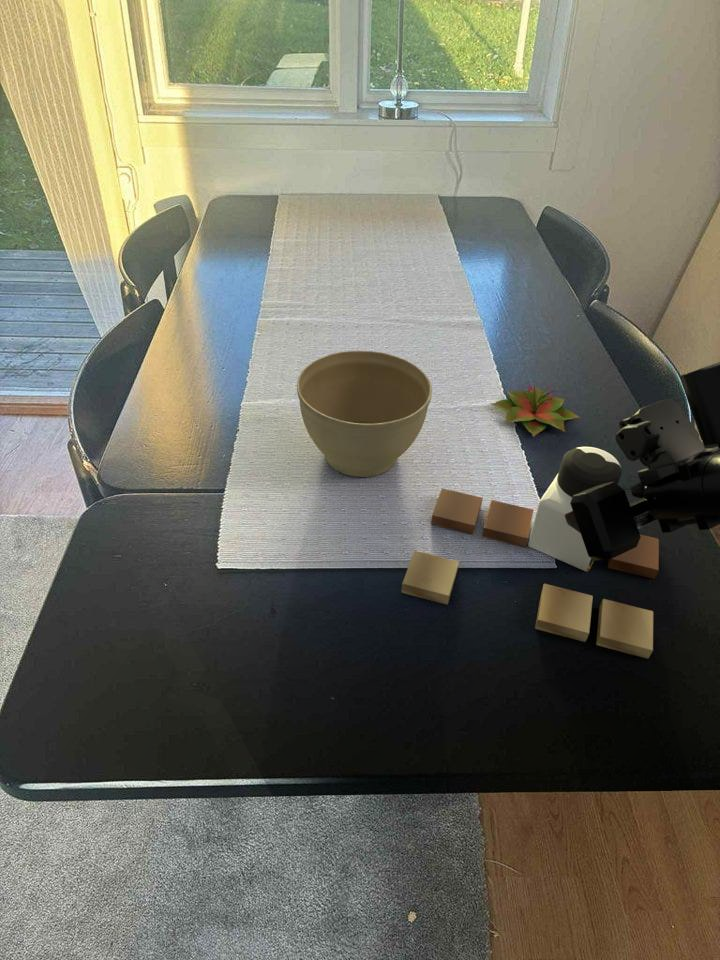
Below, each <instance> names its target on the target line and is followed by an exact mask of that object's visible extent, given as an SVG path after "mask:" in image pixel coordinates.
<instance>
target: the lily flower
mask: <svg viewBox="0 0 720 960" xmlns="http://www.w3.org/2000/svg"><path fill="white" fill-rule="evenodd" d="M539 381H540V382H541V379H540V380H539ZM531 384H532V387H531V386H530V385H528V386H527V388H526V389H527V390H526V391H524V390H514V391H511V390H506V392H507V394H508V396H509V398H510V399H508V398H506V399H501V400H497V401H495V402H491V403H489V404H490V405H491V406H494V407H497V408H498V409H500V410H502V411H504V412H507V413H506V416H505V420H504V422H503V424H508V423H513V422H516V423H517V422H521V423H522V425H523V426H524V427H525V429H526V430H527V431H528V432H529V433H531V435H532V437H533V438H534V437H535V436H536V435H538V434H539V433H540V432H542V431H543V430H545V429H546V428H547V427H548V425H550V426H552V427H554V428H556V429H558V430H560V431H561V432H565V433H566V429H565V425H564V424H565V421H567V420H573V419H576V418H577V419H578V418H579V419H580V418H581V416H579V415H578V414H576V413H574V412H573V411H572V410H570V409H569V408H566V407H562V406H563V404H564V401H565V398H560V397H558V396H557V397H556V396H554V395H553V394H551V393H554V392H557V391H558V390H557V389H553V390H551V391H548V392H546V390H547V389H548V388H550V387H551V386H552V385H553V383H550V384H549V385H548V386H547V387H546V389H545V390H544V391H543V390H541V389H540V386H539V388H538V387H537V386H535V383H534V382H533V381H532V382H531Z"/></svg>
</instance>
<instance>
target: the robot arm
mask: <svg viewBox="0 0 720 960" xmlns="http://www.w3.org/2000/svg"><path fill="white" fill-rule="evenodd" d="M678 377H679V379H680V382H681V385H682V388H683V392H684V395H685V397H686V400H687V402H688V405H689V408H690V412H691V414H692V417H693V420H694V423H695V426H696V427H695V426H694V424H693V423H692V421H691V420H690V419H689V417H688V415H686V413H685V411H684V410H683V409H682V407H681V405H680V404H678V402H677V401H675V400H673V399H671V398H665V399H662V400H660V401H655V402H654V403H651V404H648V405H645V406H642V407H640V409H638V410H637V411H636V413H634V414H633V415H631V416H630V417H627V418H625V419H622V420H620V421H619V422H618V426H619V431H617V432H616V433H615V443H616V444H617V445H618V447H619V448H620V450H621V451H622V453H623V455H624V456H625V458H626V459H627V460H628V461H630V462H636V461H638V460H639V462H640V463H641V464H642V465H643V466H645V467H647V468H643V469H641V470H638V471H637V476H638V478H639V481H640V482H637V483H635V484H632V485H630V488H629V491H630V493H631V495H632V497H634V498H637V500H635V501H633V502H629V499H628V495H627V493H626V491H625V489H624V488H623V487H621V486H620V485H619V484H618V485H617V484H616V483H615V482H610V483H605V484H602V485H598V486H595V487H592V488H590V489H587V490H585V491H583V492H580V493H578V494H575V495H573V497H572V499H571V502H570V504H571V507H572V510H573V511H571V512H569V513H567V514H565V518H566V521H567V524H568V525H569V526H571V527H572V528H574V529H575V530H577V531H578V532H579V533H581V536H582V539H583V542H584V544H585V547H586V550H587V553H588V556H589V557H590V558H592V559H594V561H608V560H610V559H612V558H614V557H616V556H618V555H621V554H623V553H625V552H627V551H629V550H631V549H633V548H635V547H637V545H638V542H639V540H640V538H641V536H640V535H641V533H640V530H639V529H641V528H644V527H645V526H648V525H649V524H652V523H655V522H656V521H658V524H659V527H660V529H661V533H662V534H667V533H668V534H669V533H673V532H676V531H677V530H679V529H681V528H683V527H685V526H690V525H691V526H692V525H697V527H698V530H699V531H707V530H711V529H713V528H715V527H717V526H719V525H720V361H718V362H715V363H712V364H709V365H706V366H704V367H700V368H697V369H695V370H691V371H689V372H686V373H683V374H680V375H679V376H678Z"/></svg>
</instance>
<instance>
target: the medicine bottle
mask: <svg viewBox="0 0 720 960" xmlns="http://www.w3.org/2000/svg"><path fill="white" fill-rule="evenodd" d="M622 474H623V469H622V466H621V464H620V462H619V461H618V460H617V458H616V457H615V456H614V455H612V454H611V453H610V452H607V451H605V450H603V449H600V448H598V447H593V446H579V447H574V448H572V449H570V450H568V451H567V452H565V453H564V455H563V457H562V460H561V463H560V467H559V469H558V473H557V474H556V476H555V477H554V478H553V481H552V482H551V483H550V485H549V486H548V488H547V489H546V490H545V492H544V493H543V495H542V496H541V498H540V500H539V502H538V505H537V508H536V512H535V516H534V520H533V523H532V528H531V531H530V533H529V537H528V541H527V545H528V547H529V548H531V549H534V550H536V551H538V552H540V553H543V554H545V555H547V556H550V557H552V558H554V559H556V560H558V561H561V562H563V563H565V564H568V565H570V566H572V567H574V568H577V569H579V570H580V571H581V570H582V571H584V572H589V571H590V570H591V568H592V566H593V564H594V562H595V560H594V559H592V558H590V557H589V556H588V553H587V550H586V547H585V544H584V542H583V539H582V536H581V533H579V532H578V531H577V530H575V529H574V528H572V527H571V526H569V525H568V524H567V521H566V518H565V514H567V513H569V512H571V511H573V510H572V507H571V504H570V502H571V499H572V497H573V495H575V494H578V493H580V492H583V491H585V490H587V489H590V488H592V487H595V486H598V485H602V484H605V483H610V482H615V483H616V484H617V485H619V483H620V479H621V477H622Z"/></svg>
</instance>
